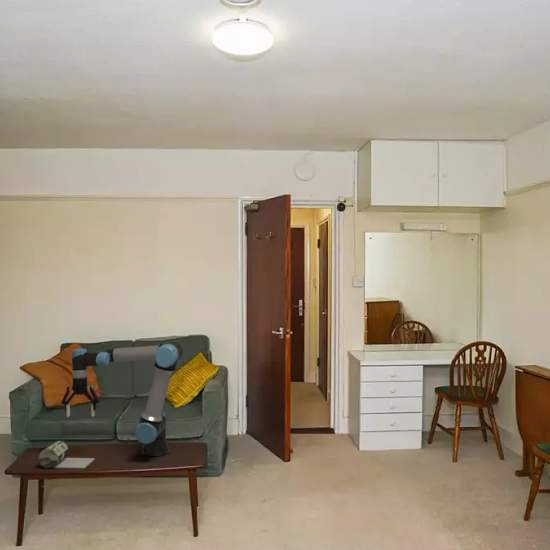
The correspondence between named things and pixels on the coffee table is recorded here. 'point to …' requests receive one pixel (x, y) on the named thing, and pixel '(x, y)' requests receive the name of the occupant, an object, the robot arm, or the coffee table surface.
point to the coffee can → (54, 454)
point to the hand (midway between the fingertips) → (80, 416)
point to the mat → (74, 463)
